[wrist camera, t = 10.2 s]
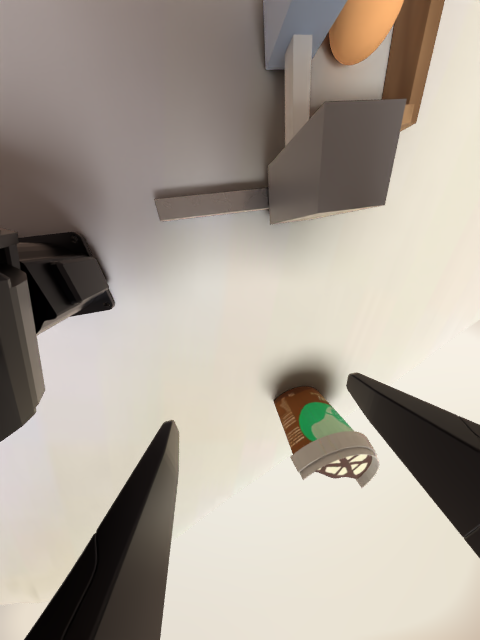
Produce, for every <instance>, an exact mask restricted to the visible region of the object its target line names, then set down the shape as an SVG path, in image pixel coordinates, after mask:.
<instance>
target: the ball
mask: <svg viewBox="0 0 480 640" xmlns="http://www.w3.org/2000/svg"><path fill="white" fill-rule="evenodd" d="M403 2H404V0H347V2H346V4H345V5H344V7H343V9H342V10H341V12H340V14H339V15H338V17H337V18H336V20H335V22H334V23H333V25H332V27H331V28H330V30H329V40H330V47H331V50H332V53H333V55H334V57H335V58H336V59H337V60H338V61H339V62H340V63H342V64H344V65H354V64H357V63H359V62H361V61H363V60H364V59H366V58H367V57H368V56H370V55H371V54H372V53H373V52H374V51H375V50H376V49H377V48H378V46H379V45H380V44H381V43H382V41H383V40H384V39H385V37H386V36H387V34H388V33H389V31H390V30H391V28H392V26H393V24H394V22H395V21H396V18H397V16H398V14H399V12H400V10H401V7H402V4H403Z"/></svg>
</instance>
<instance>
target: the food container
mask: <svg viewBox="0 0 480 640" xmlns="http://www.w3.org/2000/svg"><path fill="white" fill-rule="evenodd" d="M274 404H275V406H276V409H277V412H278V415H279V417H280V420H281V423H282V426H283V428H284V431H285V434H286V436H287V439H288V442H289V445H290V447H291V450H292V453H293V455H292V456H291V459H292V461H293V463H294V465H295V467H296V469H297V471H298V472H300V474H301V476H302V479H303V480H304V479H305V478H307V477H308V476H309V475H311V474H312V473H313V472H319V473H321V474H324V475H326V476H328V477H331V478H341V477H350V478H355V479H356V480H357V482H358V483H359V485H360V486H361V488H363V487H364V486H365V485H367V483H369V481H371V480H372V478H373V477H374V476H375V475H376V473H377V471H378V469H379V465H380V463H379V460H378V458H377V455H376V452H375V450H374V449H373V447H372V445H371V444H370V442H369V440H368V439H367V437H366V436H365V435H363V434H361V433H359V432H354V431H353V430H352V428H351V427H350V426H349V425H348V424H347V423H346V422H345V420H344V419H343V418H342V417H341V416H340V415H339V414H338V413H337V412H336V411H335V409H334V408H333V407H332V406H331V405H330V404H329V403H328V402H327V401H326V399H325V398H324V397H323V396H322V395H321V394H320V393H319V392H318V391H317V389H315V388H313V387H309V386H301V387H296V388H293V389H290V390H288V391H286V392H284V393H283V394H281V395H280V396H279V397H277V398H276V399H275V400H274Z"/></svg>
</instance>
